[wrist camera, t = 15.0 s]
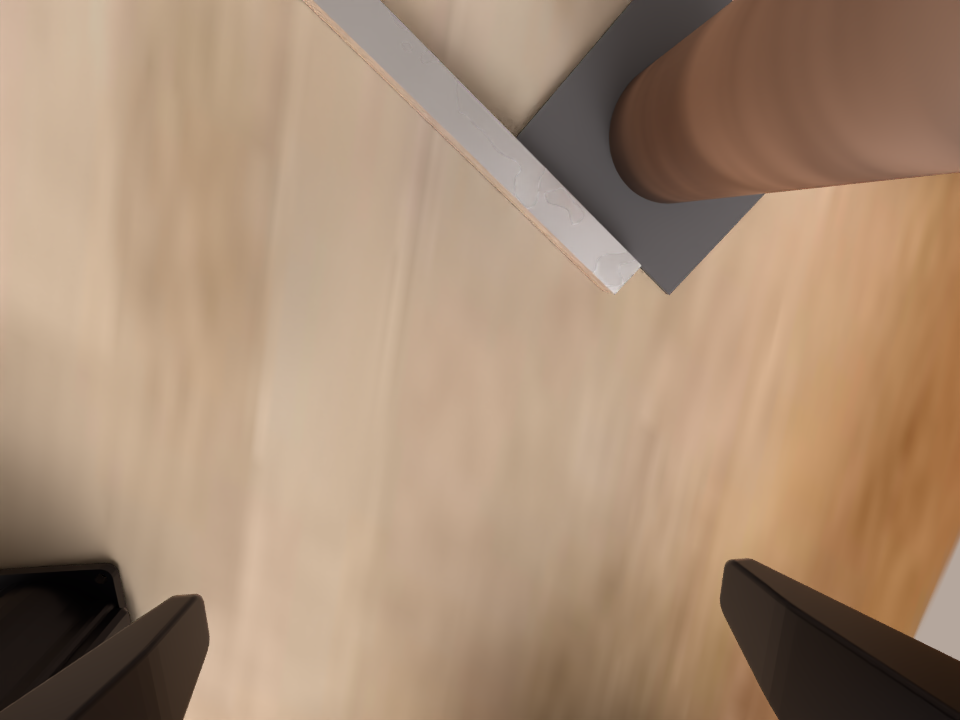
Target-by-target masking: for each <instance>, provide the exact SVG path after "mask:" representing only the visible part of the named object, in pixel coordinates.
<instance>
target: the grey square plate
mask: <svg viewBox="0 0 960 720" xmlns="http://www.w3.org/2000/svg"><path fill="white" fill-rule="evenodd" d="M731 2H732V0H633V1H632V2H631V3H630V4H629V5H628V6H627V8H626V9H625V10H624V11H623V12H622V14H621V15H620V16H619V17H618V18H617V19H616V21H615V22H614V23H613V24H612V25H611V26H610V28H609V29H608V30H607V31H606V32H605V34H604V35H603V36H602V37H601V38H600V39H599V41H598V42H597V43H596V44H595V45H594V47H593V48H592V49H591V50H590V51H589V52H588V54H587V55H586V56H585V57H584V58H583V59H582V61H581V62H580V63H579V64H578V65H577V67H576V68H575V69H574V70H573V71H572V72H571V74H570V75H569V76H568V77H567V78H566V80H565V81H564V82H563V83H562V84H561V85H560V87H559V88H558V89H557V90H556V91H555V92H554V94H553V95H552V96H551V97H550V98H549V100H548V101H547V102H546V103H545V104H544V105H543V107H542V108H541V109H540V110H539V111H538V113H537V114H536V115H535V116H534V117H533V118H532V120H531V121H530V122H529V123H528V124H527V125H526V127H525V128H524V129H523V130H522V131H521V133H520V134H519V135H518V136H517V137H516V139H517V140H518V141H519V142H520V143H521V144H522V145H523V146H524V147H525V148H526V149H527V150H528V151H529V152H530V153H531V154H532V155H533V156H534V157H535V158H536V159H537V160H538V161H539V162H540V163H541V164H542V165H543V166H544V167H545V168H546V169H547V170H548V171H549V172H550V173H551V174H552V175H553V176H554V177H555V178H556V179H557V180H558V181H559V182H560V183H561V184H562V185H563V186H564V187H565V188H566V189H567V190H568V191H569V192H570V193H571V194H572V195H573V196H574V197H575V198H576V199H577V200H578V201H579V203H580V204H581V205H582V206H583V207H584V208H585V209H586V210H587V211H588V212H589V213H590V214H591V215H592V216H593V217H594V218H595V219H596V220H597V221H598V222H599V223H600V224H601V225H602V226H603V227H604V228H605V229H606V230H607V231H608V232H609V233H610V234H611V235H612V236H613V237H614V238H615V239H616V240H617V241H618V242H619V243H620V244H621V245H622V246H623V247H624V248H625V249H626V250H627V251H628V252H629V253H630V254H631V255H632V256H633V257H634V258H635V259H636V260H637V261H638V262H639V263H640V264H641V265H642V266H641V267H640V268H641V269H642V270H643V271H644V272H645V273H646V274H647V275H648V276H649V277H650V278H651V279H652V280H653V281H654V282H655V283H656V284H657V285H658V286H659V287H660V288H661V289H662V290H663V291H664V292H665V293H666V294H669V295H670V294H671V293H672V292H673V290H674V289H675V288H676V287H677V286H678V285H679V284H680V283H681V282H682V281H683V280H684V279H685V278H686V277H687V276H688V275H689V274H690V272H691V271H692V270H693V269H694V268H695V267H696V266H697V265H698V264H699V263H700V262H701V261H702V260H703V259H704V258H705V257H706V255H707V254H708V253H709V252H710V251H711V250H712V249H713V248H714V247H715V246H716V245H717V244H718V243H719V242H720V241H721V240H722V239H723V237H724V236H725V235H726V234H727V233H728V232H729V231H730V230H731V229H732V228H733V227H734V226H735V225H736V224H737V223H738V222H739V221H740V219H741V218H742V217H743V216H744V215H745V214H746V213H747V212H748V211H749V210H750V209H751V208H752V207H753V206H754V205H755V204H756V203H757V201H758V200H759V199H760V198H761V197H762V196H763V195H764V194H765V193H764V194H755V195H745V196H736V197H727V198H718V199H708V200H699V201H690V202H681V203H671V204H666V203H657V202H653V201H650V200H647V199H645V198H643V197H641V196H639V195H637V194H636V193H635V192H633V191H632V190H631V189H630V188H629V187H628V186H627V185H626V184H625V183H624V182H623V180H622V179H621V178H620V176H619V174H618V172H617V171H616V168H615V166H614V163H613V160H612V157H611V153H610V145H609V131H610V123H611V119H612V114H613V112H614V109H615V106H616V104H617V102H618V100H619V98H620V96H621V94H622V93H623V91H624V90H625V88H626V87H627V86H628V84H629V83H630V82H631V81H632V80H633V79H634V78H635V77H636V76H637V75H638V74H639V73H641V72H642V71H643V70H645V69H646V68H647V67H648V66H650V65H651V64H652V63H654V62H655V61H656V60H657V59H659V58H660V57H661V56H663V55H664V54H665V53H666V52H668V51H669V50H670V49H672V48H673V47H674V46H675V45H677V44H678V43H679V42H681V41H682V40H683V39H684V38H686V37H687V36H688V35H690V34H691V33H692V32H693V31H695V30H696V29H697V28H699V27H700V26H701V25H702V24H704V23H705V22H706V21H707V20H709V19H710V18H711V17H713V16H714V15H715V14H716V13H718V12H719V11H720V10H722V9H723V8H724V7H725V6H727V5H728V4H729V3H731Z"/></svg>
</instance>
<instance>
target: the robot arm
mask: <svg viewBox="0 0 960 720" xmlns="http://www.w3.org/2000/svg"><path fill="white" fill-rule="evenodd" d="M101 574H103V575H105V576H106V578H105V577H103V576H102V575H101ZM720 604H721V609H722V612H723V614H724V616H725V618H726V620H727V622H728V624H729V626H730V628H731V630H732V632H733V634H734V636H735V638H736V640H737V642H738V644H739V646H740V648H741V650H742V652H743V654H744V656H745V658H746V660H747V662H748V664H749V666H750V668H751V670H752V672H753V674H754V676H755V678H756V680H757V682H758V683H759V685H760V687H761V689H762V691H763V693H764V695H765V697H766V699H767V700H768V702H769V704H770V706H771V707H772V709H773V711H774V712H775V714H776V716H777V717H778V719H779V720H960V661H958V660H956V659H954V658H952V657H950V656H948V655H946V654H944V653H942V652H940V651H938V650H936V649H934V648H932V647H930V646H928V645H926V644H924V643H922V642H920V641H918V640H916V639H914V638H912V637H910V636H908V635H905V634H903V633H901V632H899V631H897V630H895V629H893V628H891V627H889V626H887V625H885V624H883V623H881V622H879V621H877V620H875V619H873V618H871V617H869V616H867V615H865V614H863V613H861V612H859V611H857V610H855V609H853V608H851V607H849V606H846V605H844V604H842V603H840V602H838V601H836V600H834V599H832V598H830V597H828V596H826V595H824V594H822V593H820V592H818V591H816V590H814V589H812V588H810V587H808V586H806V585H804V584H802V583H800V582H798V581H796V580H794V579H792V578H789V577H787V576H785V575H783V574H781V573H779V572H777V571H775V570H773V569H771V568H769V567H767V566H765V565H763V564H761V563H759V562H757V561H755V560H753V559H748V558H746V559H731V560H729V561H727V562H726V564H725V567H724V573H723V580H722V587H721V594H720ZM208 647H209V629H208V623H207V617H206V611H205V605H204V601H203V598H202V597H201V596H200V595H198V594H188V595H176V596H172V597H170V598H169V599H167V600H166V601H164V602H163V603H161V604H160V605H158V606H157V607H155V608H154V609H152V610H151V611H149V612H148V613H146V614H145V615H143V616H142V617H140V618H139V619H137V620H136V621H134V622H133V623H131V622H130V617H129V613H128V611H127V608H126V603H125V599H124V594H123V589H122V585H121V580H120V575H119V572H118V569H117V568H116V567H115V566H114V565H112V564H109V563H97V564H81V565H64V566H47V567H30V568H13V569H0V720H183V719H184V716H185V713H186V710H187V708H188V705H189V702H190V699H191V696H192V694H193V691H194V688H195V685H196V682H197V680H198V677H199V674H200V671H201V668H202V665H203V663H204V660H205V657H206V654H207V651H208Z"/></svg>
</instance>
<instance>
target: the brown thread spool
mask: <svg viewBox="0 0 960 720" xmlns="http://www.w3.org/2000/svg"><path fill="white" fill-rule="evenodd" d="M609 145H610V153H611V157H612V160H613V163H614V166H615V168H616V171H617V172H618V174H619V176H620V178H621V179H622V180H623V182H624V183H625V184H626V185H627V186H628V187H629V188H630V189H631V190H632V191H633V192H635V193H636V194H637V195H639V196H641V197H643V198H645V199H647V200H650V201H653V202H657V203H666V204H671V203H681V202H690V201H699V200H708V199H718V198H727V197H736V196H745V195H755V194H764V193H773V192H782V191H791V190H801V189H810V188H819V187H828V186H838V185H847V184H856V183H865V182H875V181H884V180H893V179H902V178H911V177H921V176H930V175H939V174H948V173H958V172H960V0H733V1H732V2H731V3H729V4H728V5H727V6H725V7H724V8H723V9H722V10H720V11H719V12H718V13H716V14H715V15H714V16H713V17H711V18H710V19H709V20H707V21H706V22H705V23H704V24H702V25H701V26H700V27H699V28H697V29H696V30H695V31H693V32H692V33H691V34H690V35H688V36H687V37H686V38H684V39H683V40H682V41H681V42H679V43H678V44H677V45H675V46H674V47H673V48H672V49H670V50H669V51H668V52H666V53H665V54H664V55H663V56H661V57H660V58H659V59H657V60H656V61H655V62H654V63H652V64H651V65H650V66H648V67H647V68H646V69H645V70H643V71H642V72H641V73H639V74H638V75H637V76H636V77H635V78H634V79H633V80H632V81H631V82H630V83H629V84H628V86H627V87H626V88H625V90H624V91H623V93H622V94H621V96H620V98H619V100H618V102H617V104H616V106H615V109H614V112H613V114H612V119H611V123H610V131H609Z"/></svg>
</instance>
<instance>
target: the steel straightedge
mask: <svg viewBox="0 0 960 720" xmlns="http://www.w3.org/2000/svg"><path fill="white" fill-rule="evenodd" d="M303 1H304V2H305V3H306V4H307V5H308V6H309V7H310V8H311V9H312V10H313V11H314V12H315V13H316V14H317V15H318V16H319V17H320V18H321V19H322V20H323V21H324V22H325V23H326V24H327V25H329V26H330V27H331V28H332V29H333V30H334V31H335V32H336V33H337V34H338V35H339V36H340V37H341V38H342V39H343V40H344V41H345V42H346V43H347V44H348V45H349V46H350V47H351V48H352V49H353V50H354V51H355V52H356V53H357V54H358V55H359V56H360V57H362V58H363V59H364V60H365V61H366V62H367V63H368V64H369V65H370V66H371V67H372V68H373V69H374V70H375V71H376V72H377V73H378V74H379V75H380V76H381V77H382V78H383V79H384V80H385V81H386V82H387V83H388V84H389V85H390V86H391V87H392V88H393V89H395V90H396V91H397V92H398V93H399V94H400V95H401V96H402V97H403V98H404V99H405V100H406V101H407V102H408V103H409V104H410V105H411V106H412V107H413V108H414V109H415V110H416V111H417V112H418V113H419V114H420V115H421V116H422V117H423V118H424V119H425V120H427V121H428V122H429V123H430V124H431V125H432V126H433V127H434V128H435V129H436V130H437V131H438V132H439V133H440V134H441V135H442V136H443V137H444V138H445V139H446V140H447V141H448V142H449V143H450V144H451V145H452V146H453V147H454V148H455V149H456V150H457V151H458V152H460V153H461V154H462V155H463V156H464V157H465V158H466V159H467V160H468V161H469V162H470V163H471V164H472V165H473V166H474V167H475V168H476V169H477V170H478V171H479V172H480V173H481V174H482V175H483V176H484V177H485V178H486V179H487V180H488V181H489V182H490V183H491V184H493V185H494V186H495V187H496V188H497V189H498V190H499V191H500V192H501V193H502V194H503V195H504V196H505V197H506V198H507V199H508V200H509V201H510V202H511V203H512V204H513V205H514V206H515V207H516V208H517V209H518V210H519V211H520V212H521V213H522V214H523V215H524V216H526V217H527V218H528V219H529V220H530V221H531V222H532V223H533V224H534V225H535V226H536V227H537V228H538V229H539V230H540V231H541V232H542V233H543V234H544V235H545V236H546V237H547V238H548V239H549V240H550V241H551V242H552V243H553V244H554V245H555V246H556V247H558V248H559V249H560V250H561V251H562V252H563V253H564V254H565V255H566V256H567V257H568V258H569V259H570V260H571V261H572V262H573V263H574V264H575V265H576V266H577V267H578V268H579V269H580V270H581V271H582V272H583V273H584V274H585V275H586V276H587V277H588V278H589V279H591V280H592V281H593V282H594V283H595V284H596V285H597V286H598V287H599V288H600V289H601V290H602V291H605V292H608V293H611V294H614V295H615V294H616V293H617V292H618V291H619V290H620V288H621V287H622V286H623V285H624V284H625V283H626V282H627V281H628V280H629V279H630V278H631V277H632V276H633V274H634V273H635V272H636V271H637V270H638V269H639V268H640V267H641V266H642V265H641V264H640V263H639V262H638V261H637V260H636V259H635V258H634V257H633V256H632V255H631V254H630V253H629V252H628V251H627V250H626V249H625V248H624V247H623V246H622V245H621V244H620V243H619V242H618V241H617V240H616V239H615V238H614V237H613V236H612V235H611V234H610V233H609V232H608V231H607V230H606V229H605V228H604V227H603V226H602V225H601V224H600V223H599V222H598V221H597V220H596V219H595V218H594V217H593V216H592V215H591V214H590V213H589V212H588V211H587V210H586V209H585V208H584V207H583V206H582V205H581V204H580V203H579V201H578V200H577V199H576V198H575V197H574V196H573V195H572V194H571V193H570V192H569V191H568V190H567V189H566V188H565V187H564V186H563V185H562V184H561V183H560V182H559V181H558V180H557V179H556V178H555V177H554V176H553V175H552V174H551V173H550V172H549V171H548V170H547V169H546V168H545V167H544V166H543V165H542V164H541V163H540V162H539V161H538V160H537V159H536V158H535V157H534V156H533V155H532V154H531V153H530V152H529V151H528V150H527V149H526V148H525V147H524V146H523V145H522V144H521V143H520V142H519V141H518V140H517V139H516V138H515V137H514V136H513V135H512V133H511V132H510V131H509V130H508V129H507V128H506V127H505V126H504V125H503V124H502V123H501V122H500V121H499V120H498V119H497V118H496V117H495V116H494V115H493V114H492V113H491V112H490V111H489V110H488V109H487V108H486V107H485V106H484V105H483V104H482V103H481V102H480V101H479V100H478V99H477V98H476V97H475V96H474V95H473V94H472V93H471V92H470V91H469V90H468V89H467V88H466V87H465V86H464V85H463V84H462V83H461V82H460V81H459V80H458V79H457V78H456V77H455V76H454V75H453V74H452V73H451V72H450V71H449V70H448V69H447V68H446V67H445V66H444V64H443V63H442V62H441V61H440V60H439V59H438V58H437V57H436V56H435V55H434V54H433V53H432V52H431V51H430V50H429V49H428V48H427V47H426V46H425V45H424V44H423V43H422V42H421V41H420V40H419V39H418V38H417V37H416V36H415V35H414V34H413V33H412V32H411V31H410V30H409V29H408V28H407V27H406V26H405V25H404V24H403V23H402V22H401V21H400V20H399V19H398V18H397V17H396V16H395V15H394V14H393V13H392V12H391V11H390V10H389V9H388V8H387V7H386V6H385V5H384V4H383V3H382V2H381V1H380V0H303Z"/></svg>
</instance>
